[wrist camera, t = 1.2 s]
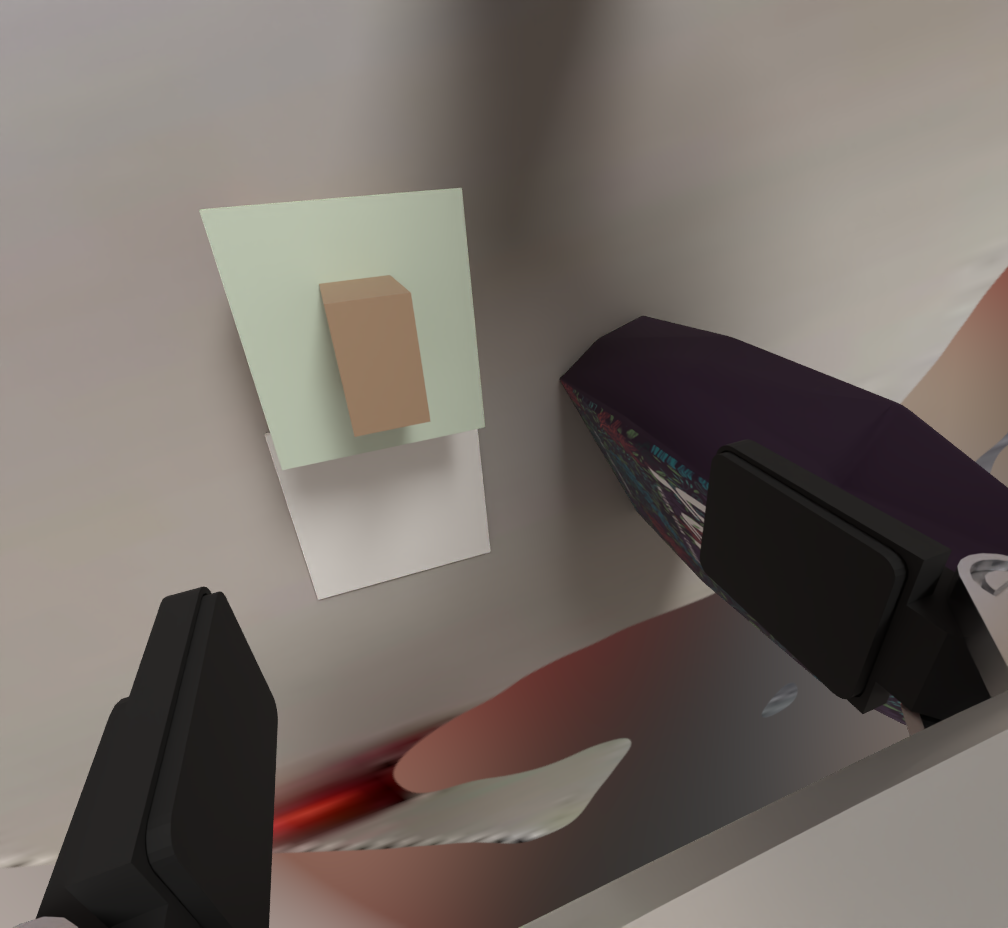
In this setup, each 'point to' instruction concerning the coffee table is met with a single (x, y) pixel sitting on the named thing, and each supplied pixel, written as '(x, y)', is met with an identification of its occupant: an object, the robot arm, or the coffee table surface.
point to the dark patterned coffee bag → (769, 440)
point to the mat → (387, 511)
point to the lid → (353, 319)
